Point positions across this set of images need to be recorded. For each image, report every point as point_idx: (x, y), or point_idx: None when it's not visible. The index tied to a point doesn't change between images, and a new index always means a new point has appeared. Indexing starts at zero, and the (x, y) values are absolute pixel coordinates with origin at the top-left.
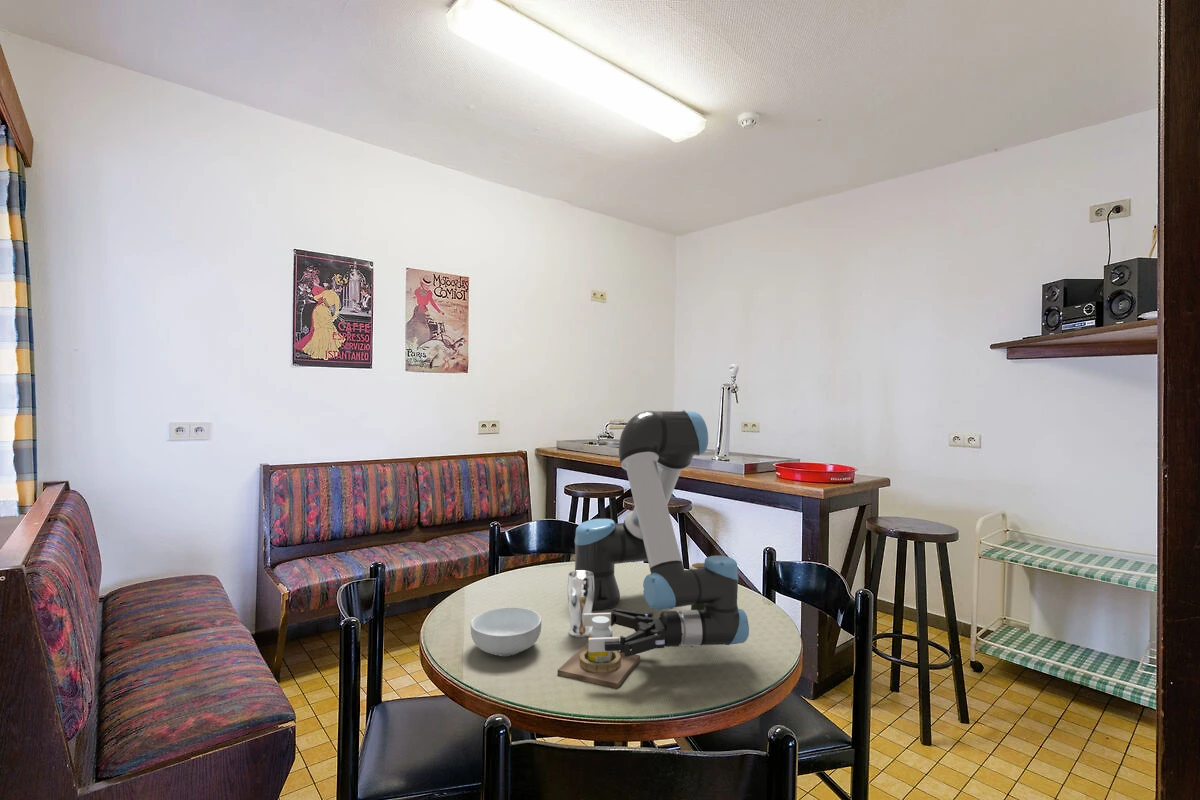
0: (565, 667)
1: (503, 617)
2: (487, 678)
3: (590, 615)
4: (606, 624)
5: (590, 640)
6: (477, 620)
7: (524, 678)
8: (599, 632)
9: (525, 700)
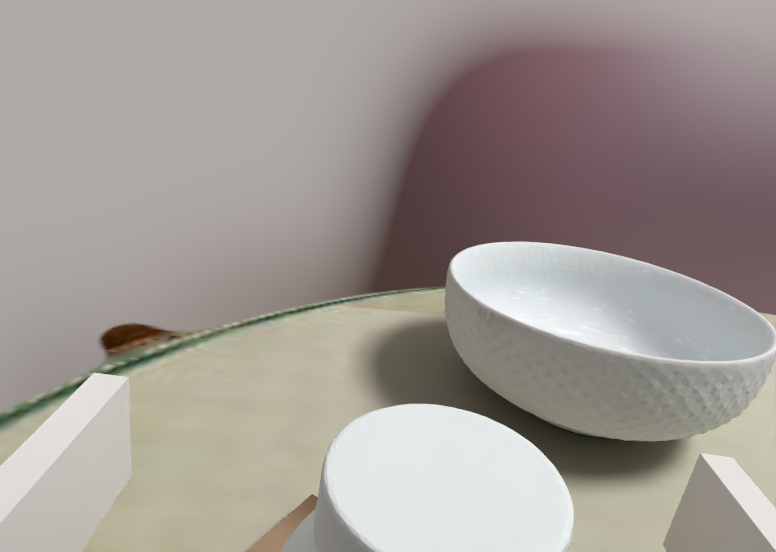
0: None
1: (714, 334)
2: (341, 338)
3: (737, 515)
4: (330, 539)
5: (85, 389)
6: (606, 268)
7: (311, 407)
8: (308, 531)
9: (131, 388)
